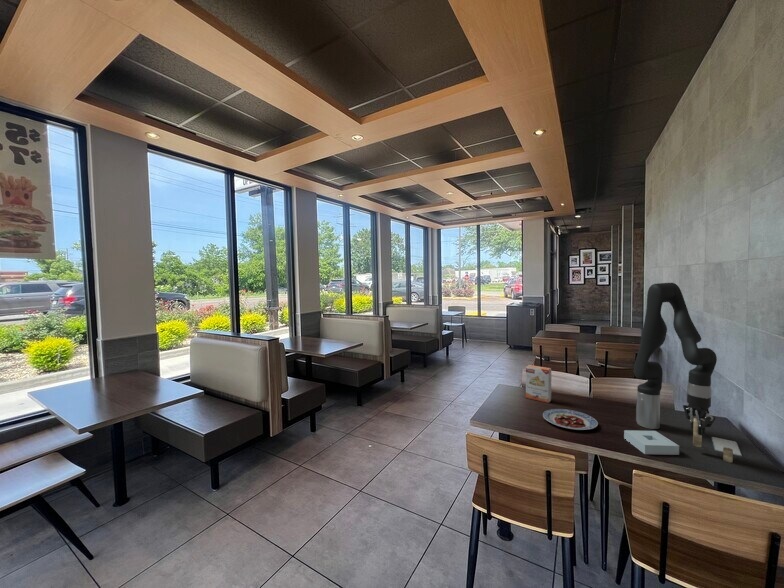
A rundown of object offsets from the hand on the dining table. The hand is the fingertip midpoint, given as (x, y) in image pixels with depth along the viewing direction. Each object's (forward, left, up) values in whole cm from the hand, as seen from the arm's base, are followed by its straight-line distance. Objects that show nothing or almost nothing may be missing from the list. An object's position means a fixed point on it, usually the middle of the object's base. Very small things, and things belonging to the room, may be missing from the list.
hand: (697, 432), depth 141 cm
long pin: (0, 0, -6) cm, 6 cm away
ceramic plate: (-30, -40, -9) cm, 51 cm away
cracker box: (-63, -44, -9) cm, 77 cm away
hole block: (-5, -16, -9) cm, 19 cm away
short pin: (+6, +7, -9) cm, 13 cm away
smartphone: (-6, +17, -9) cm, 20 cm away
